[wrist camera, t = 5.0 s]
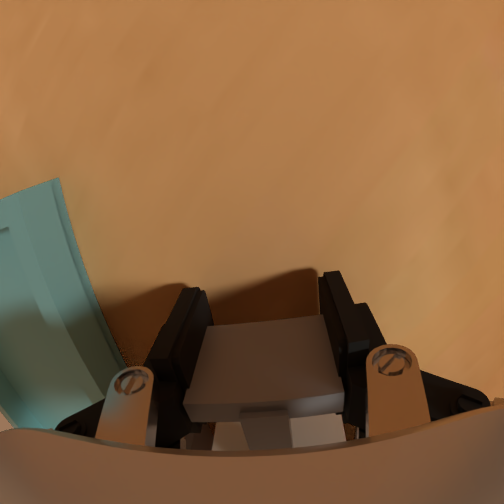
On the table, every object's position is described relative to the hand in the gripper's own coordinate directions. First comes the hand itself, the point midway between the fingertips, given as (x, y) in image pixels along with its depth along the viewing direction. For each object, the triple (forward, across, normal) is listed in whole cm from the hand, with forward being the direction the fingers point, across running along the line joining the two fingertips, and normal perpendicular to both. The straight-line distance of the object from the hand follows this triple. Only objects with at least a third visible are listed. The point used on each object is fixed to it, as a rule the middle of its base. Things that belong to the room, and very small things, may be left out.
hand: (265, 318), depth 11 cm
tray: (+1, +13, +3) cm, 13 cm away
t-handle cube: (+1, 0, +5) cm, 5 cm away
